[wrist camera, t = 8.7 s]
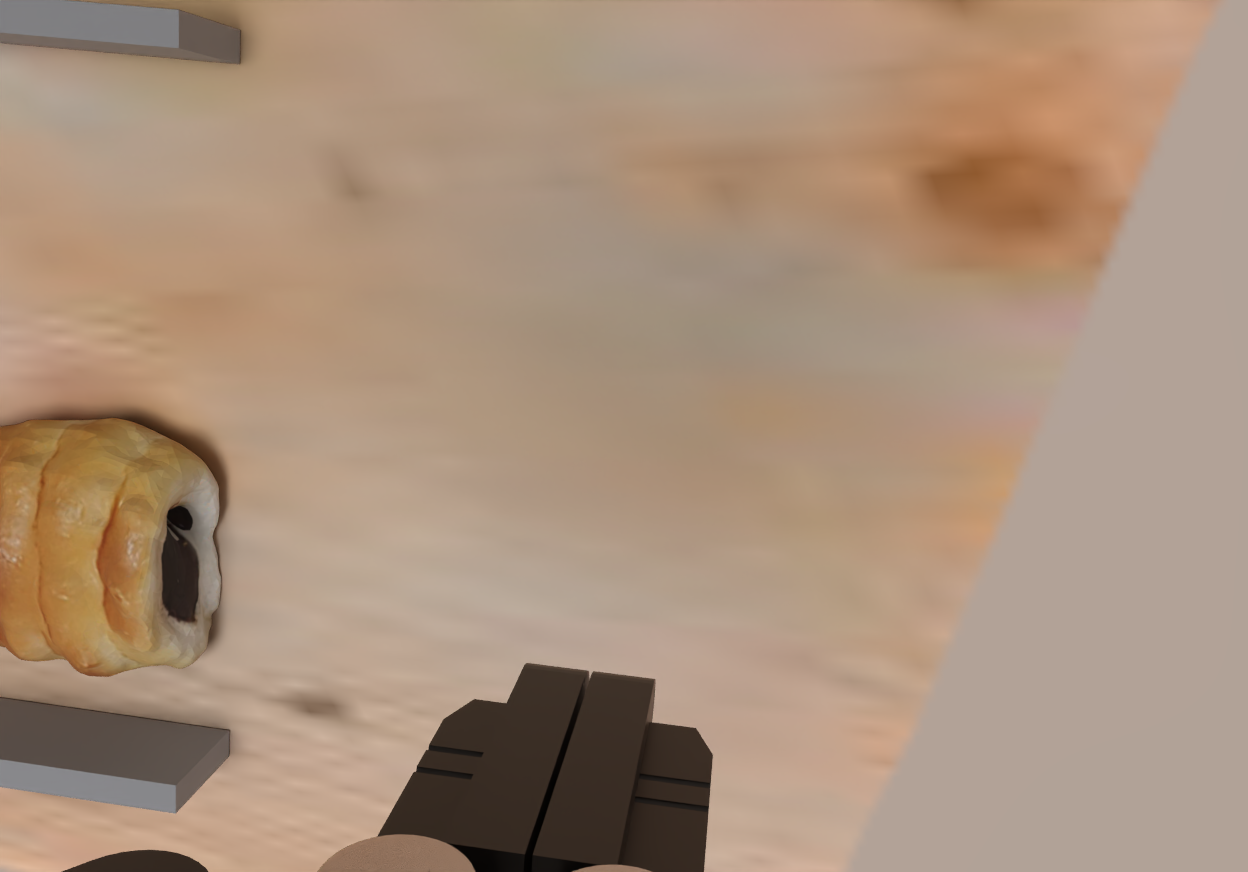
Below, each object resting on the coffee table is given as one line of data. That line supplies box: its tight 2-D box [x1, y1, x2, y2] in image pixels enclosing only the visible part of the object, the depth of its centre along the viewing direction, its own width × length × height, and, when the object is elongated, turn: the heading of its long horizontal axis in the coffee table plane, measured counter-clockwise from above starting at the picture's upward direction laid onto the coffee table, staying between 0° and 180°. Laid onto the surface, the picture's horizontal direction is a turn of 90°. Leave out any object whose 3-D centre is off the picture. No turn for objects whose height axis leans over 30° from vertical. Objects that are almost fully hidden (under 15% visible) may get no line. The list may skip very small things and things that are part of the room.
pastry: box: [0, 418, 221, 677], centre depth 29 cm, size 9×7×4 cm
